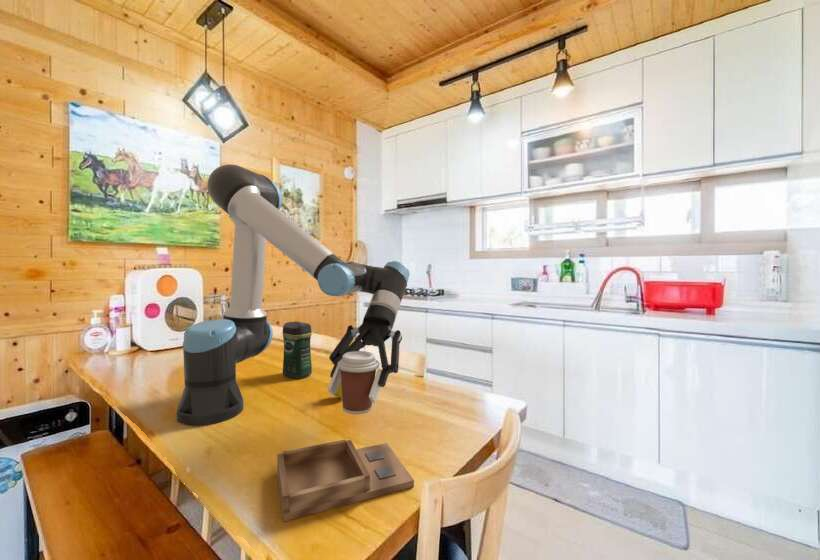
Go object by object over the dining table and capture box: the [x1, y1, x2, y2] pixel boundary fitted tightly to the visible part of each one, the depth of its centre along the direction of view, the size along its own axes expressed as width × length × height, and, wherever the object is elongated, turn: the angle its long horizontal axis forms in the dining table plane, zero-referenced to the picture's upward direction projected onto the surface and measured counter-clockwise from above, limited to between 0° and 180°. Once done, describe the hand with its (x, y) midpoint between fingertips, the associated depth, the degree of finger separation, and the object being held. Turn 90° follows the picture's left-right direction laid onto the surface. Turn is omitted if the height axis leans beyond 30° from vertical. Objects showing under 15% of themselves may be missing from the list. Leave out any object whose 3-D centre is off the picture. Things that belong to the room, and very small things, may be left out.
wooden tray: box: [276, 439, 415, 523], centre depth 65 cm, size 22×14×4 cm, turn 114°
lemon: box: [334, 381, 342, 399], centre depth 103 cm, size 6×6×8 cm
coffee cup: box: [338, 350, 380, 415], centre depth 79 cm, size 9×9×12 cm
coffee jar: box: [282, 321, 313, 379], centre depth 123 cm, size 10×8×19 cm
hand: (351, 396), depth 76 cm, fingers closed on coffee cup, 9 cm apart
